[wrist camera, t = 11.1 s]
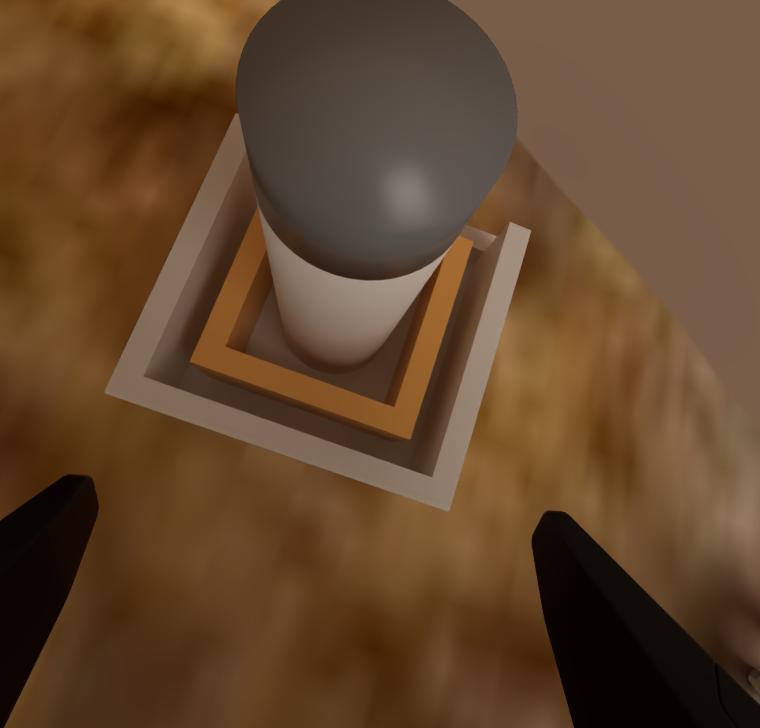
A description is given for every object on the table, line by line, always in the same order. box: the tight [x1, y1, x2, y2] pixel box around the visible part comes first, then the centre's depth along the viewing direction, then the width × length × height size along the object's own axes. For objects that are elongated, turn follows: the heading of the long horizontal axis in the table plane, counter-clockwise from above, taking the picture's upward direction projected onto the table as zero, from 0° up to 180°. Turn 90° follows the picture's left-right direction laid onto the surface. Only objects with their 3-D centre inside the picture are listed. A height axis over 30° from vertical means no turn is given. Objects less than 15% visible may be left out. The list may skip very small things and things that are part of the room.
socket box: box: [104, 114, 531, 512], centre depth 18 cm, size 11×11×4 cm
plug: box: [236, 0, 518, 374], centre depth 13 cm, size 4×4×12 cm
